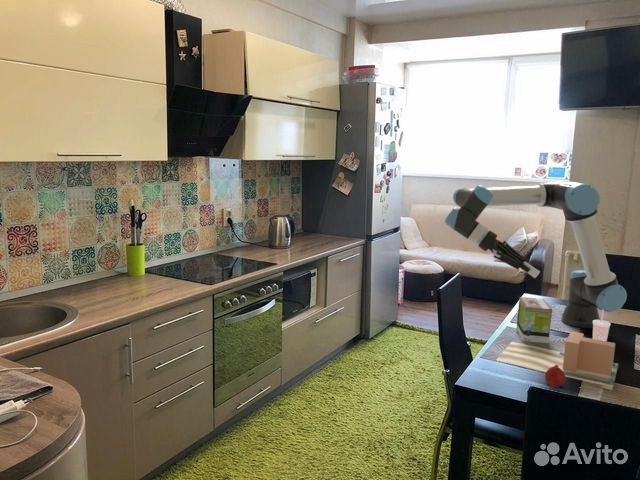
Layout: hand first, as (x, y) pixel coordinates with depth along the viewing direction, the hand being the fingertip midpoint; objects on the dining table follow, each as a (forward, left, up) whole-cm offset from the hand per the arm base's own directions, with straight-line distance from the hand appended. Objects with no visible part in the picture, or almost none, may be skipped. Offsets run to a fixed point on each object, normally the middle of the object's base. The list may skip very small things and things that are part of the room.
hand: (537, 274), depth 196 cm
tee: (-3, +24, -27) cm, 36 cm away
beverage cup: (-28, +6, -28) cm, 40 cm away
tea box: (-8, -8, -29) cm, 31 cm away
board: (+3, +16, -28) cm, 32 cm away
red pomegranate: (+18, +30, -28) cm, 45 cm away
